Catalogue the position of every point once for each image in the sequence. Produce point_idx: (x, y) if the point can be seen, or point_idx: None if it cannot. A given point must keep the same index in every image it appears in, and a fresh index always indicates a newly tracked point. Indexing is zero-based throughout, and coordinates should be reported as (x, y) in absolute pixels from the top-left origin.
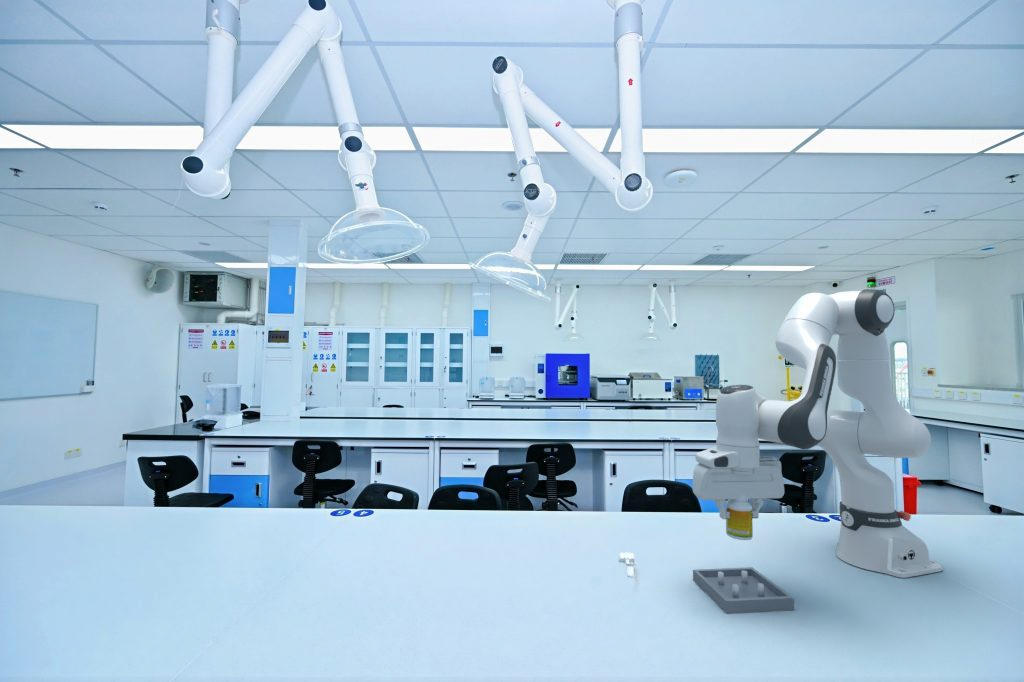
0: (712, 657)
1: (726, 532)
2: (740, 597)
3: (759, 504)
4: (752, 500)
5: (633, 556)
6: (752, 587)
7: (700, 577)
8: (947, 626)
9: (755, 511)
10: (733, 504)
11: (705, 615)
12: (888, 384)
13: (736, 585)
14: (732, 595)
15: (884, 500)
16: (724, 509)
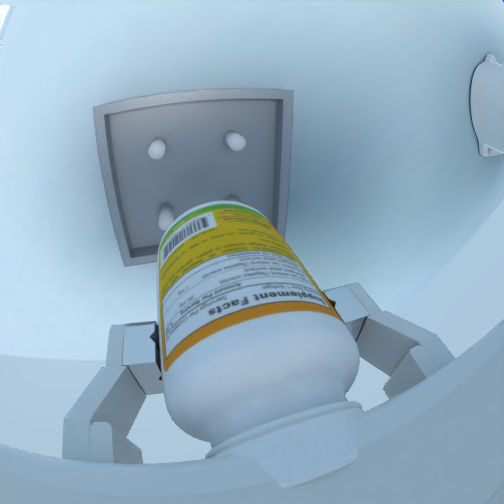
0: (84, 342)
1: (157, 257)
2: (177, 211)
3: (389, 374)
4: (407, 355)
5: (1, 23)
6: (236, 162)
7: (98, 151)
8: (421, 256)
9: None
10: (204, 439)
11: (86, 260)
12: None
13: (168, 224)
14: (161, 203)
15: None
16: (133, 410)
